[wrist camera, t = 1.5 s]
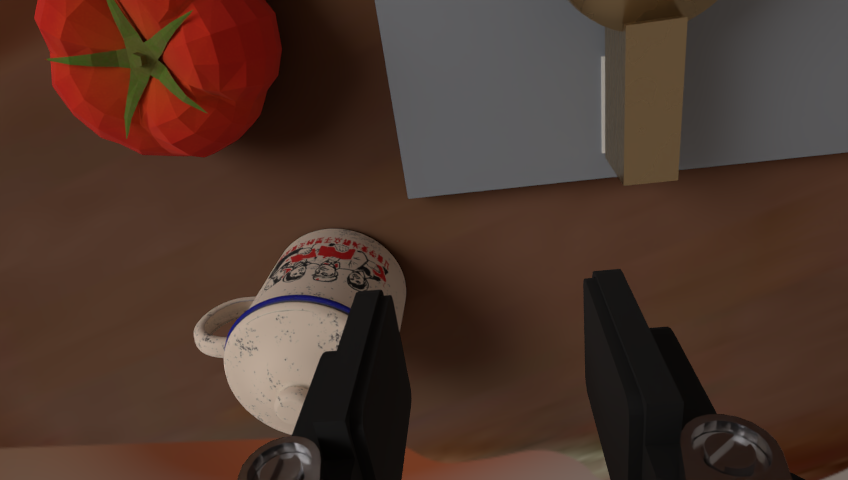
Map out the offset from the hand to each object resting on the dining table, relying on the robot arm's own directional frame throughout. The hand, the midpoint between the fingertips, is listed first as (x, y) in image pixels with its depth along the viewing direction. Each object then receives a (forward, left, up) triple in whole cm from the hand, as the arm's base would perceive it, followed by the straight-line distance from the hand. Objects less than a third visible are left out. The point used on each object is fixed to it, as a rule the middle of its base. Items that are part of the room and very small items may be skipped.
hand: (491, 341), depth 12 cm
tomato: (-6, -15, -22) cm, 27 cm away
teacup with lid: (+10, -12, -22) cm, 27 cm away
